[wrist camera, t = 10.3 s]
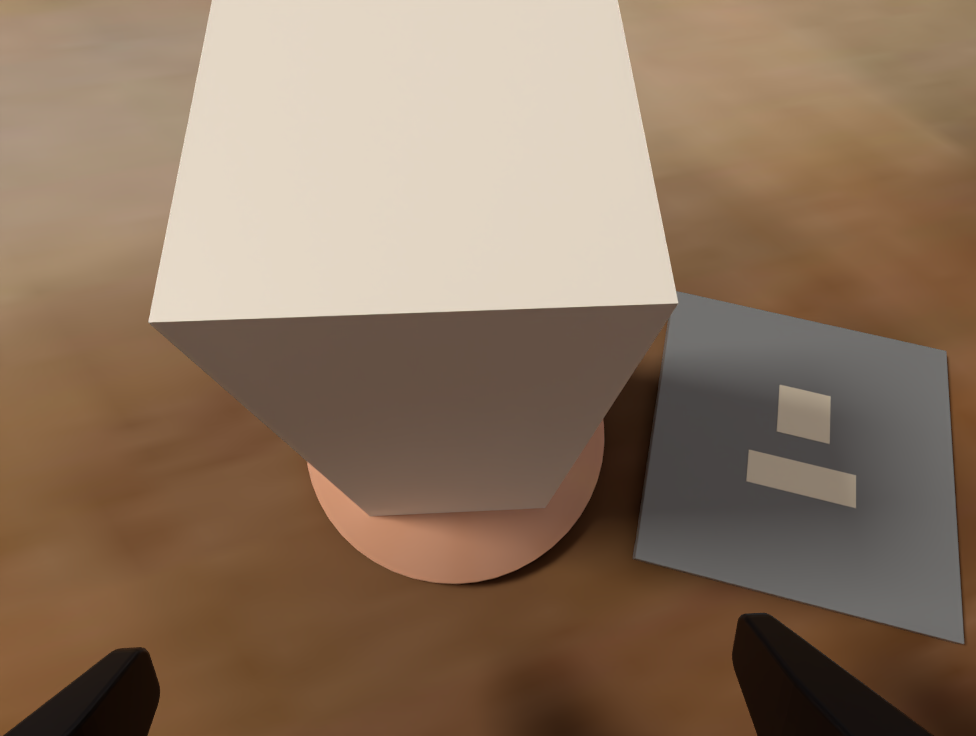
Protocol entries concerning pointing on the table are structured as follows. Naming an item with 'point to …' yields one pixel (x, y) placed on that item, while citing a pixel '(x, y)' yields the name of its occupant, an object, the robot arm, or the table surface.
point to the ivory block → (418, 239)
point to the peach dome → (464, 529)
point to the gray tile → (804, 466)
